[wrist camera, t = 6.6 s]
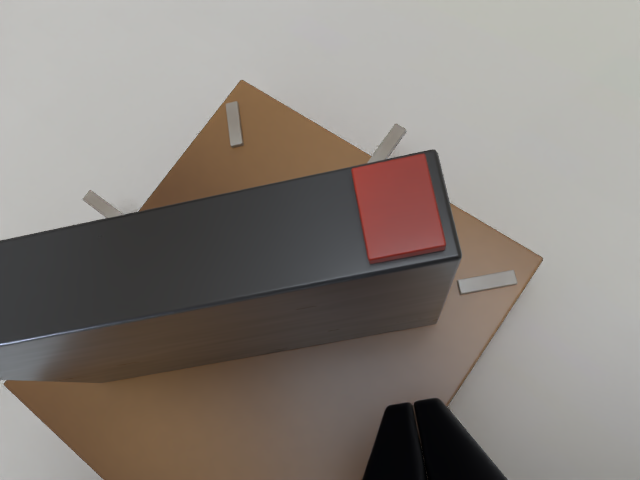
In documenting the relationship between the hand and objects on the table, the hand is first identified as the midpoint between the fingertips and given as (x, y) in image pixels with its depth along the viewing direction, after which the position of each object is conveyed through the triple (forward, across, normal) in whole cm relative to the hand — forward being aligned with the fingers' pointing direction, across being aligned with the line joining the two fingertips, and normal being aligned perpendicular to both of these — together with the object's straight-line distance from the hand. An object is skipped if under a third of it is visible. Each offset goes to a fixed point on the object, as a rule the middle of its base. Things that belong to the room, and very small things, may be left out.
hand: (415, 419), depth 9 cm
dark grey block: (+5, +4, +1) cm, 6 cm away
